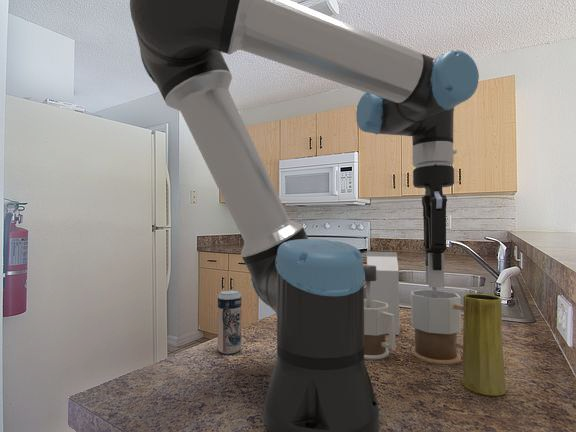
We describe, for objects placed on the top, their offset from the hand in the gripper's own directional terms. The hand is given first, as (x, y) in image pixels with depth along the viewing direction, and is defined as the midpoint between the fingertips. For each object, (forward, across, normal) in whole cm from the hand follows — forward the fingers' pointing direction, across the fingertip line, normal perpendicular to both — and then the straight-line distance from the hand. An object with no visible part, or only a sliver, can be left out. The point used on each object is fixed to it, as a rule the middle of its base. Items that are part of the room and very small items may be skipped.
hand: (434, 285), depth 67 cm
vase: (+14, -12, -5) cm, 19 cm away
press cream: (+14, -2, +12) cm, 18 cm away
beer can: (+14, -8, +40) cm, 43 cm away
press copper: (+14, -1, -1) cm, 14 cm away
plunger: (+7, 0, 0) cm, 7 cm away
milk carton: (+14, +14, +10) cm, 22 cm away
